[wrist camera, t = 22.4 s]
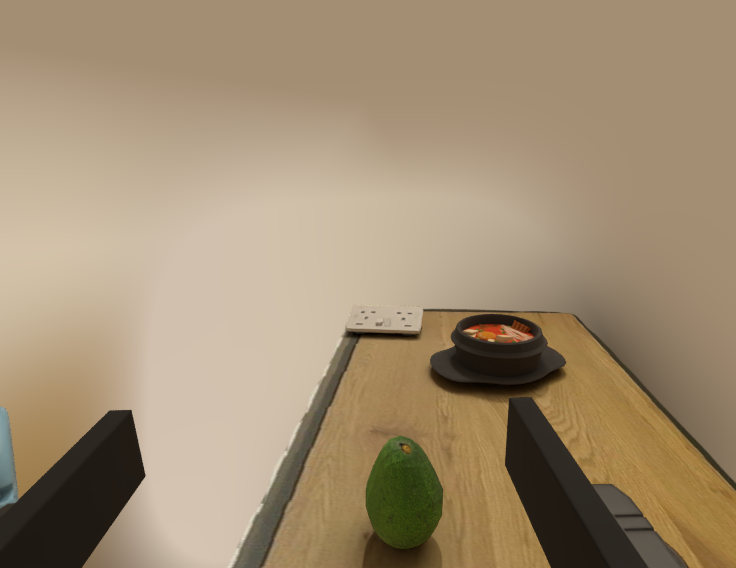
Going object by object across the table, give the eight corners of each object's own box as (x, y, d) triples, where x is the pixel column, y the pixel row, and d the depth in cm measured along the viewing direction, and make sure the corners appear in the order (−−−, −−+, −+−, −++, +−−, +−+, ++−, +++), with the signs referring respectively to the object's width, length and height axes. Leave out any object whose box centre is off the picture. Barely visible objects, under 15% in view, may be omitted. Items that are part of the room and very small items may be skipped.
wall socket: (422, 313, 108) (421, 299, 107) (429, 346, 94) (429, 330, 93) (348, 319, 109) (347, 305, 107) (346, 353, 95) (344, 337, 93)
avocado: (366, 570, 42) (361, 467, 39) (367, 508, 50) (363, 417, 47) (448, 569, 42) (450, 465, 39) (437, 507, 50) (438, 415, 46)
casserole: (528, 341, 92) (530, 304, 90) (589, 383, 75) (593, 338, 73) (416, 356, 88) (416, 317, 85) (453, 404, 70) (454, 357, 68)
